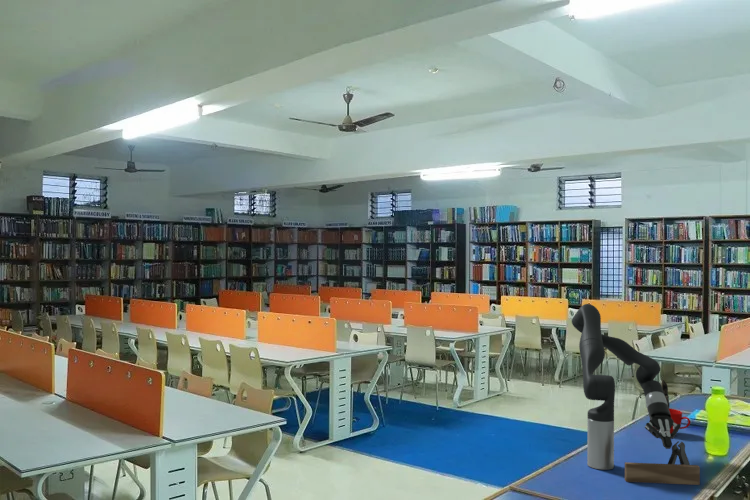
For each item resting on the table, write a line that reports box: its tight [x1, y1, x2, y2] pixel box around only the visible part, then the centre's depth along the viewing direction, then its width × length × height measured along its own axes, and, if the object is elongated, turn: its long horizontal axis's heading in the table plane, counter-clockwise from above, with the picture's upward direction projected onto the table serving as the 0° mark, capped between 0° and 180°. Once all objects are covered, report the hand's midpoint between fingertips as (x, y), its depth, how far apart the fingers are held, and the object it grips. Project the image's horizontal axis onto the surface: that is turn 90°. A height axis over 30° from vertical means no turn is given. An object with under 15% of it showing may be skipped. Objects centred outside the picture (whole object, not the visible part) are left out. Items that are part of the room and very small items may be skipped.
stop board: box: [624, 461, 701, 486], centre depth 220 cm, size 2×24×6 cm, turn 85°
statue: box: [661, 379, 670, 408], centre depth 307 cm, size 4×7×20 cm, turn 102°
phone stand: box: [667, 440, 691, 465], centre depth 225 cm, size 9×6×12 cm, turn 52°
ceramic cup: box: [669, 408, 691, 434], centre depth 283 cm, size 13×17×10 cm
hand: (668, 447), depth 235 cm, fingers closed
